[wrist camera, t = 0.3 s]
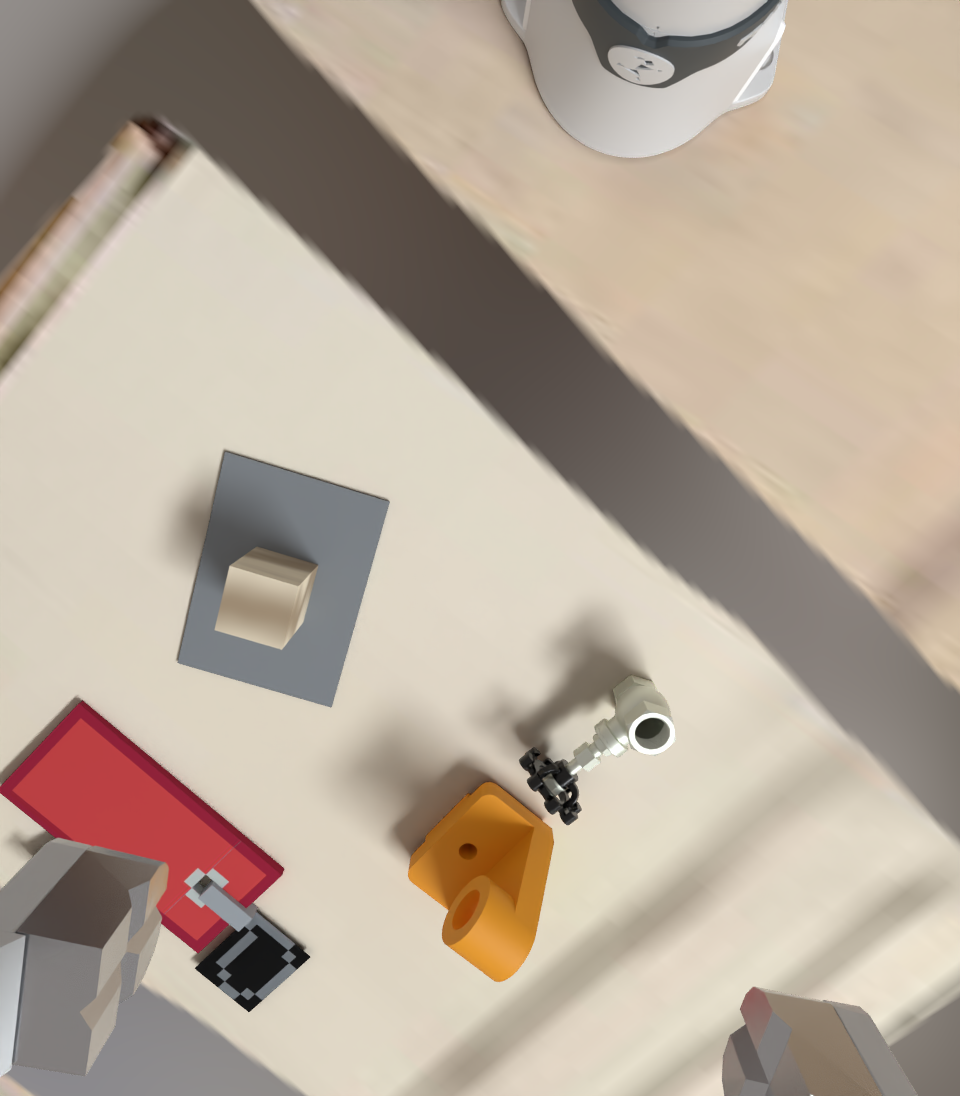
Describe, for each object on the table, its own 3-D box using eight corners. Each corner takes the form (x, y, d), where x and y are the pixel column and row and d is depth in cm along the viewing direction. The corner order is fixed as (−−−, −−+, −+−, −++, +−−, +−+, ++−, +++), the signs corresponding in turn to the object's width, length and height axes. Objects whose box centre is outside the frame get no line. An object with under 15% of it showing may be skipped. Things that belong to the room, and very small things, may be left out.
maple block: (256, 546, 56) (229, 565, 50) (318, 565, 57) (298, 586, 51) (242, 604, 57) (214, 630, 52) (303, 622, 58) (281, 649, 52)
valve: (628, 651, 58) (517, 740, 60) (645, 684, 52) (520, 783, 54) (679, 707, 59) (568, 793, 61) (702, 747, 53) (577, 841, 55)
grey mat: (226, 451, 55) (225, 451, 55) (389, 501, 56) (389, 502, 55) (178, 662, 59) (177, 663, 59) (331, 706, 60) (331, 707, 59)
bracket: (488, 772, 61) (487, 865, 49) (551, 822, 62) (565, 926, 50) (406, 854, 63) (387, 963, 51) (468, 902, 64) (464, 1019, 52)
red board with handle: (239, 1015, 67) (348, 917, 65) (228, 1042, 64) (341, 940, 62) (-19, 808, 63) (88, 696, 61) (-42, 827, 60) (69, 710, 58)
